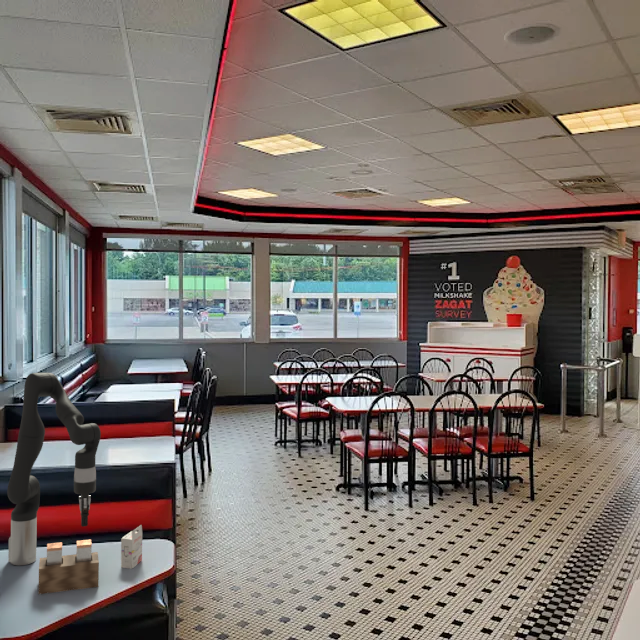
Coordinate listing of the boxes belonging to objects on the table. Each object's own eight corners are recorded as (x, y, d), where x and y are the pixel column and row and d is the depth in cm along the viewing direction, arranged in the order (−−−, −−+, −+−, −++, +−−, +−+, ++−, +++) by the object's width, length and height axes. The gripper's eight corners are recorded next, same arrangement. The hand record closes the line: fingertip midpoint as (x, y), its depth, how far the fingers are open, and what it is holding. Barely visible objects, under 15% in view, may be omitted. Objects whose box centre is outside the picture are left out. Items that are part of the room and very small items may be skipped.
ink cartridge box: (130, 559, 265) (131, 523, 264) (142, 560, 264) (143, 524, 263) (120, 567, 257) (120, 530, 256) (131, 569, 256) (132, 531, 255)
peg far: (76, 569, 239) (76, 545, 239) (76, 564, 244) (76, 540, 243) (91, 567, 241) (91, 544, 241) (90, 562, 246) (91, 539, 245)
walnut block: (38, 594, 233) (38, 569, 232) (39, 582, 242) (39, 558, 242) (98, 586, 240) (98, 562, 239) (97, 575, 249) (97, 552, 249)
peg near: (46, 572, 236) (46, 548, 235) (46, 567, 240) (47, 543, 240) (61, 571, 237) (62, 547, 237) (61, 565, 242) (62, 542, 242)
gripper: (96, 483, 236) (96, 530, 237) (95, 473, 249) (94, 518, 249) (74, 484, 234) (73, 533, 234) (73, 474, 246) (73, 520, 247)
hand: (84, 525), depth 242 cm, fingers closed
